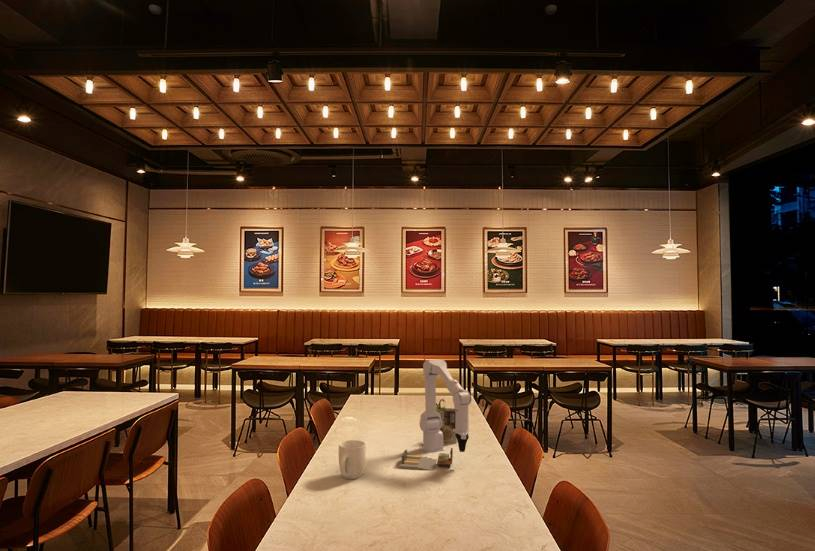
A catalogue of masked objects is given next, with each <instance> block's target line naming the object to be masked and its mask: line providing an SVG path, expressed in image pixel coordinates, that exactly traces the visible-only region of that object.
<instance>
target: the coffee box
mask: <svg viewBox="0 0 815 551" xmlns="http://www.w3.org/2000/svg"><path fill="white" fill-rule="evenodd" d="M439 414H440V417H441V421H442V426H441V428H440V429H439V430H441V431H442V433H443V443H451V444H458V442H457V441H458V440H457V438H456V435H455V434H458V433H456V432H453V429H455V415H456V409H455V408H451V407H445V408H441V410H439Z"/></svg>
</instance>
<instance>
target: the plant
mask: <svg viewBox="0 0 815 551" xmlns="http://www.w3.org/2000/svg"><path fill="white" fill-rule="evenodd" d="M441 402H442V403H445V399H443V398H442V399H440V400H439V402H438V403H437V402H436V411H437V412H438V413H439V410H441V408H446V407H445V406H444V405H443V406H441Z"/></svg>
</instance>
